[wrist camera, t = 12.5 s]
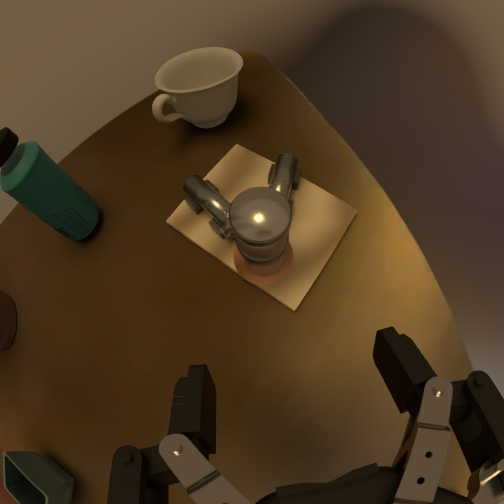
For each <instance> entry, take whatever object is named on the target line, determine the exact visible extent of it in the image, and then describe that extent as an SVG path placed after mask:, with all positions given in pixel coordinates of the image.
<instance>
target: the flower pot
mask: <svg viewBox="0 0 504 504" xmlns="http://www.w3.org/2000/svg"><path fill="white" fill-rule="evenodd" d="M3 474H4V486H5V489H6V490H7V491H8V492H9V493H10V494H11V495H12V497H13V498H14V499H15V500H16V501H17V502H18V503H19V504H70V502H71V499H72V493H73V487H74V478H73V477H72V476H70V475H69V474H68V473H67V472H65V471H64V470H63V469H62V468H60V467H59V466H58V465H57V464H56V463H55V462H54V461H52V460H51V459H49V458H47V457H45V456H43V455H40V454H37V453H34V452H27V451H17V452H16V451H9V452H6V451H4V452H3Z"/></svg>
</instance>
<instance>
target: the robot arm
mask: <svg viewBox="0 0 504 504" xmlns="http://www.w3.org/2000/svg"><path fill="white" fill-rule="evenodd" d="M16 321H17V318H16V310H15V306H14V303H13V301H12V299H11V298H10V296H8V295H6V294H4V293H2V291H0V349H6V348H8V347H9V346H10V345H11V343H12V341H13V339H14V336H15V332H16ZM373 359H374V362H375V365H376V366H377V368H378V370H379V372H380V374H381V376H382V378H383V380H384V382H385V384H386V386H387V388H388V389H389V391H390V393H391V395H392V397H393V399H394V401H395V403H396V405H397V407H398V409H399V411H400V413H401V414H402V413H404V412H407V411H408V412H409V414H410V417H409V420H408V423H407V427H406V430H405V433H404V437H403V440H402V443H401V446H400V449H399V451H398V453H397V455H396V457H395V459H394V462H393V464H392V466H391V467H387V466H382V467H378V466H377V463H373V464H370V465H367V466H364V467H361V468H358V469H355V470H352V471H351V472H349V473H347V474H345V475H343V476H341V477H339V478H337V479H336V480H334V481H332V482H329V483H299V484H293V485H287V486H281V487H276V492H274V493H271V494H269V495H267V496H265V497H263V498H262V499H260V500H259V501H258V502H256V503H255V504H499V503H500V502H501V501H503V500H504V399H503V397H502V396H501V394H500V392H499V391H498V389H497V388H496V386H495V385H494V383H493V381H492V380H491V378H490V377H489V376H488V375H487V374H486V373H485V372H483V371H473V372H472V373H470V374H469V376H468V378H467V379H466V380H461V381H454V382H450V381H449V380H448V379H446V378H444V377H438V376H437V375H436V374H435V372H434V371H433V369H432V368H431V366H430V365H429V363H428V362H427V360H426V359H425V357H424V356H423V355H422V354H421V352H420V350H419V349H418V348H417V346H416V345H415V343H414V342H413V340H412V339H411V338H409V337H408V336H406V335H405V334H401V335H399V334H398V333H397V331H396V330H395V329H394V327H392V326H391V327H388V328H384V329H381V330H378V331H377V333H376V338H375V344H374V350H373ZM173 396H174V398H173V402H172V404H173V405H172V408H171V415H170V423H169V430H168V434H167V436H166V437H165V438H164V439H163V440H162V441H161V442H160V444H158V445H156V446H153V447H149V448H145V449H140V450H138V449H137V448H136V447H134V446H130V445H126V446H122V447H120V448H119V449H117V450H116V452H115V453H114V456H113V461H112V468H111V475H110V483H109V492H108V502H107V504H169V499H168V489H169V485H171V484H175V483H179V482H181V483H182V484H183V485H184V487H185V488H186V489H187V493H188V494H189V496H190V497H191V498H192V499H193V500H194V502H195V503H196V504H252V503H251V502H249V501H248V500H247V499H246V498H245V497H244V496H243V495H242V494H241V493H240V492H238V491H237V490H236V489H235V488H234V487H233V486H232V485H231V484H230V483H229V482H228V481H227V480H226V479H225V478H224V477H223V476H222V475H221V474H220V473H219V472H218V471H217V470H216V469H215V468H214V467H213V466H212V465H211V464H210V463H209V454H216V388H215V384H214V382H213V379H212V377H211V375H210V372H209V370H208V367H207V365H206V364H202V365H192V366H189V369H188V377H182V378H180V379H179V381H178V382H177V384H176V385H175V388H174V395H173ZM448 423H450V425H451V427H452V429H453V431H454V434H455V436H456V438H457V440H458V443H459V445H460V447H461V449H462V452H463V454H464V456H465V459H466V461H467V464H468V466H469V469H470V471H471V475H470V477H469V480H468V485H467V490H468V491H469V492H468V496H467V497H464V496H462V495H459V494H456V493H454V492H451V491H448V490H446V489H444V488H441V487H439V486H438V483H439V480H440V477H441V473H442V470H443V466H444V462H445V458H446V454H447V449H448V445H449V440H450V434H451V429H450V428H448Z"/></svg>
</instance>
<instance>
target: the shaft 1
mask: <svg viewBox="0 0 504 504" xmlns="http://www.w3.org/2000/svg"><path fill="white" fill-rule="evenodd" d="M184 191H185V192H186V193H187V194H188V195H187V196H186V197H185V198H184V200H185V201H186V203H187V205H188V206H189V207H190V208H191V209H192V210H193V211H194V212H195V213H196V214H197V215H198V214H199V213H201V212H202V211H203V210H205V211H206V212H207V213H208V214H209V215H210V216H212V217H213V219H211V220H210V221H209V222H208V223H209V225H210V227H211V229H212V230H213V231H214V232H215V233H216V234H217V235H218V236H219V237H220V238H221V239H222V240H223V239H224V238H225V237H226V238H228V239H232V238H234V237H235V234H234V233H233V231H232V228H231V225H230V222H229V208H230V205H231V203H232V202H231V203H229V202H228V201H227V200H226V199H225V198H224V197H223V196H222V195H220V193H219V190H218V188H217V187H216V186H215V185H214V184H212V183H211V182H210V181H209V180H208V179H207V180H205V181H204V180H203V179H202V178H201V177H200V176H199V175H193V176H191V177H189V178H188V179H187V180H186V182H185V184H184Z"/></svg>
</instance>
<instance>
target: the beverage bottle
mask: <svg viewBox="0 0 504 504" xmlns="http://www.w3.org/2000/svg"><path fill="white" fill-rule="evenodd" d="M17 143H18V136H17V135H16V134H15V133H13V132H12V131H11V130H10V129H8V128H7V127H5V128H3V129H2V130H0V167H2V168H1V175H0V184H1V188H2V190H3V191H4V192H6V193H8V194H9V195H10V196H11V197H13V198H14V199H15V200H17V201H18V202H19V203H21V204H22V205H23V206H25V207H26V208H27V209H28V210H29V211H31V212H32V213H33V214H35V216H38V217H39V218H40V219H42V222H43V221H45V222H46V223H47V224H49V225H50V226H51V227H53V228H54V229H55V230H57V231H58V232H59V233H62V234H63V236H64V237H65V236H66V237H68V238H69V239H72V240H81V239H84V238H85V237H87V236H88V235H89V234H90V233H91V232H92V231H93V229H94V228H95V226H96V224H97V221H98V217H99V210H98V207H97V205H96V204H97V203H95V202H94V201H93V200H92V199H93V198H92V199H91V197H89V196H88V195H89V194H88V193H87V192H86V191H85V190H84V189H83V188H82V187H81V186H80V185H79V186H80V187H81V188H82V189H83V190H84V191H85V192H86V193H87V194H88V195H87V194H86V193H85V192H84V191H83V190H82V189H81V188H80V187H79V186H78V185H77V184H76V183H75V182H74V181H73V180H72V178H71V177H69V176H70V175H69V176H68V175H67V173H65V172H64V171H63V170H62V169H61V168H60V167H59V166H58V165H57V164H56V163H55V162H54V161H53V160H52V159H51V158H50V157H49V156H48V155H47V154H46V153H45V152H44V151H43V149H42V148H41V147H40V146H39V144H38V143H37V142H35V141H29V142H25V143H21V144H20V145H18V146H17ZM16 146H17V147H16ZM27 209H26V210H27ZM29 211H28V212H29ZM46 223H45V224H46ZM49 225H48V226H49ZM53 228H52V229H53Z"/></svg>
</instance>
